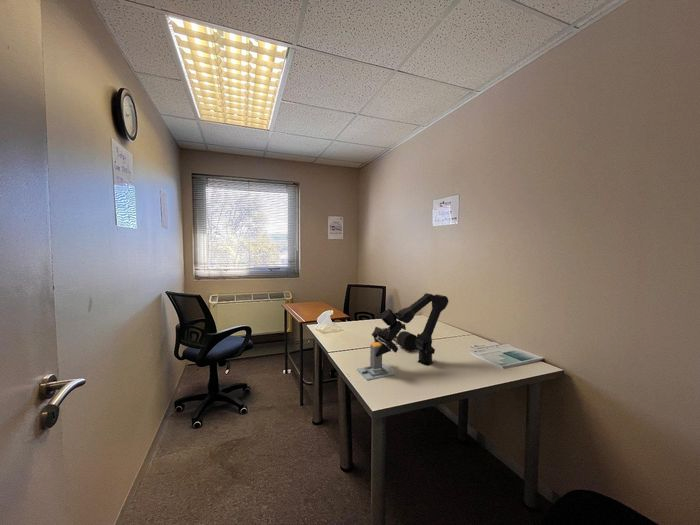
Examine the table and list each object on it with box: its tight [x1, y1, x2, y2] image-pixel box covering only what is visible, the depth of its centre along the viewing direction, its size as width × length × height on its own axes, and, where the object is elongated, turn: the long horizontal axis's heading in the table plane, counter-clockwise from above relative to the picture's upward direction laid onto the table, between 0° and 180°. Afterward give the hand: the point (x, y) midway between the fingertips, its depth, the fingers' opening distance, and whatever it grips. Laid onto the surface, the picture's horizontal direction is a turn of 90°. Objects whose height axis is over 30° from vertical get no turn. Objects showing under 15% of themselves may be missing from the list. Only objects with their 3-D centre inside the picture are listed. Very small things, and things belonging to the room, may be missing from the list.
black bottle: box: [393, 330, 418, 352], centre depth 184 cm, size 10×34×10 cm, turn 13°
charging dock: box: [356, 363, 397, 381], centre depth 140 cm, size 16×12×2 cm
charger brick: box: [369, 341, 383, 369], centre depth 140 cm, size 4×4×12 cm
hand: (373, 354), depth 139 cm, fingers closed on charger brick, 4 cm apart
